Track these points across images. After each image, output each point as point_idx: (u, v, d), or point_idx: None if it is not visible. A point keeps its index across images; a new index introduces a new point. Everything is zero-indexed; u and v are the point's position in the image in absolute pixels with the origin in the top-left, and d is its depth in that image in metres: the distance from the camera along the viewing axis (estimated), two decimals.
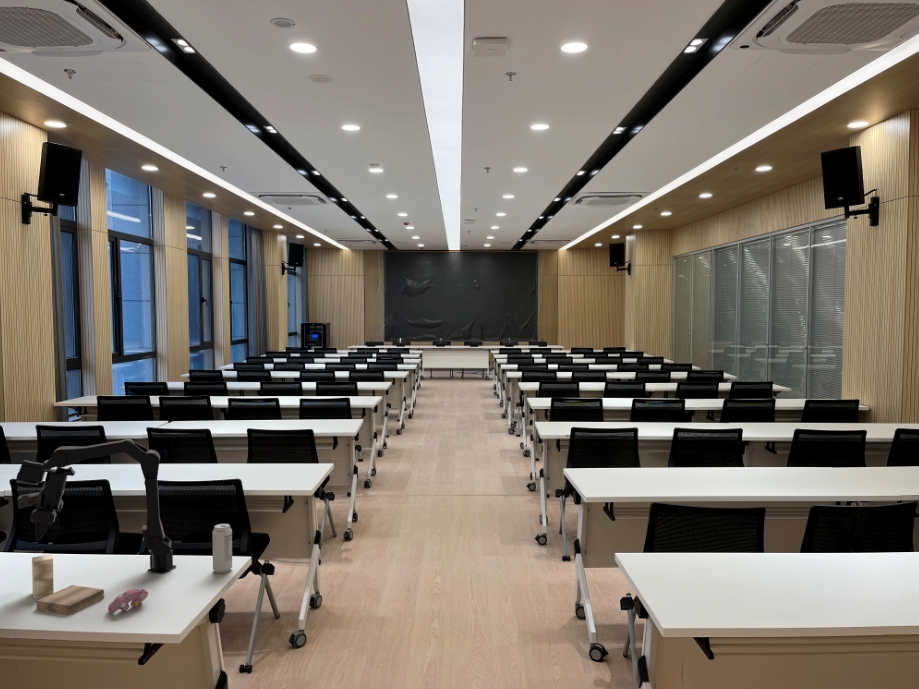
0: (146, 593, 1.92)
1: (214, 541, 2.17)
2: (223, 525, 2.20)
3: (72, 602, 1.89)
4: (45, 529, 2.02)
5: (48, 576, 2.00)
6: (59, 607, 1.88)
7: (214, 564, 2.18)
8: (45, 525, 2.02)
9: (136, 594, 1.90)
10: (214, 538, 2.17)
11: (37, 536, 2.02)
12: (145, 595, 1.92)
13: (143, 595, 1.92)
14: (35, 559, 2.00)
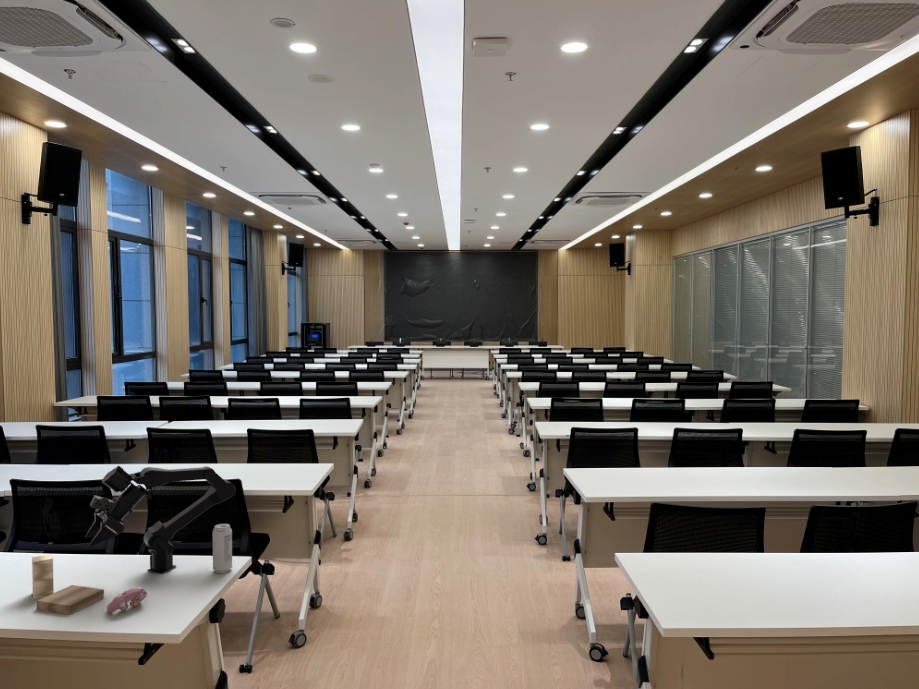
0: (145, 593, 1.93)
1: (214, 541, 2.17)
2: (223, 525, 2.20)
3: (72, 602, 1.89)
4: (105, 538, 2.05)
5: (48, 576, 2.00)
6: (59, 607, 1.88)
7: (214, 564, 2.18)
8: (108, 534, 2.06)
9: (135, 594, 1.90)
10: (214, 538, 2.17)
11: (94, 541, 2.04)
12: (144, 595, 1.92)
13: (142, 595, 1.92)
14: (35, 559, 2.00)
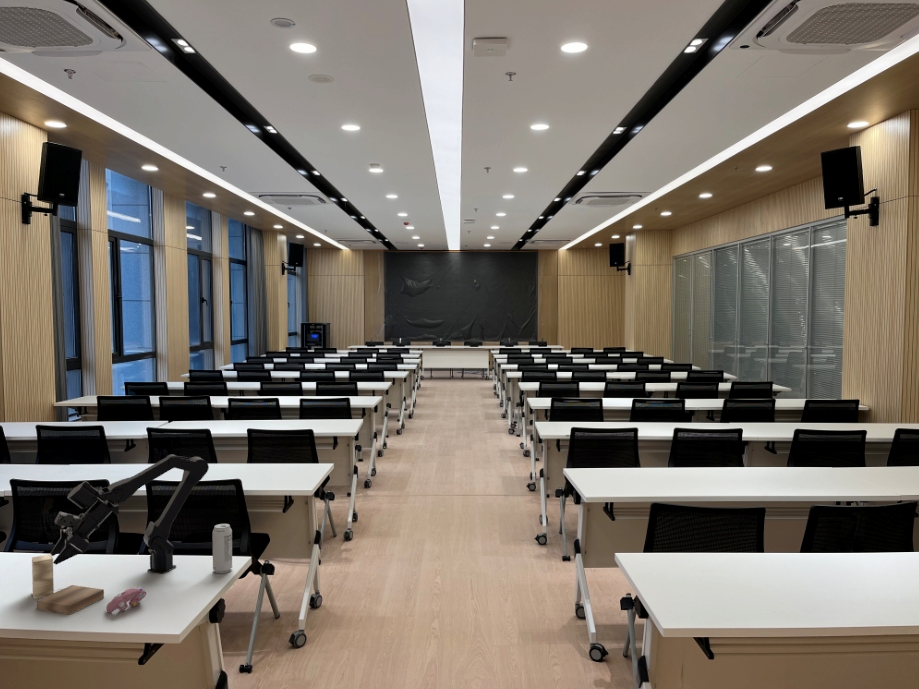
0: (144, 593, 1.93)
1: (214, 541, 2.17)
2: (223, 525, 2.20)
3: (72, 602, 1.89)
4: (70, 556, 2.00)
5: (48, 576, 2.00)
6: (59, 607, 1.88)
7: (214, 564, 2.18)
8: (72, 552, 2.00)
9: (134, 594, 1.90)
10: (214, 538, 2.17)
11: (58, 559, 1.99)
12: (143, 595, 1.93)
13: (141, 595, 1.92)
14: (35, 559, 2.00)
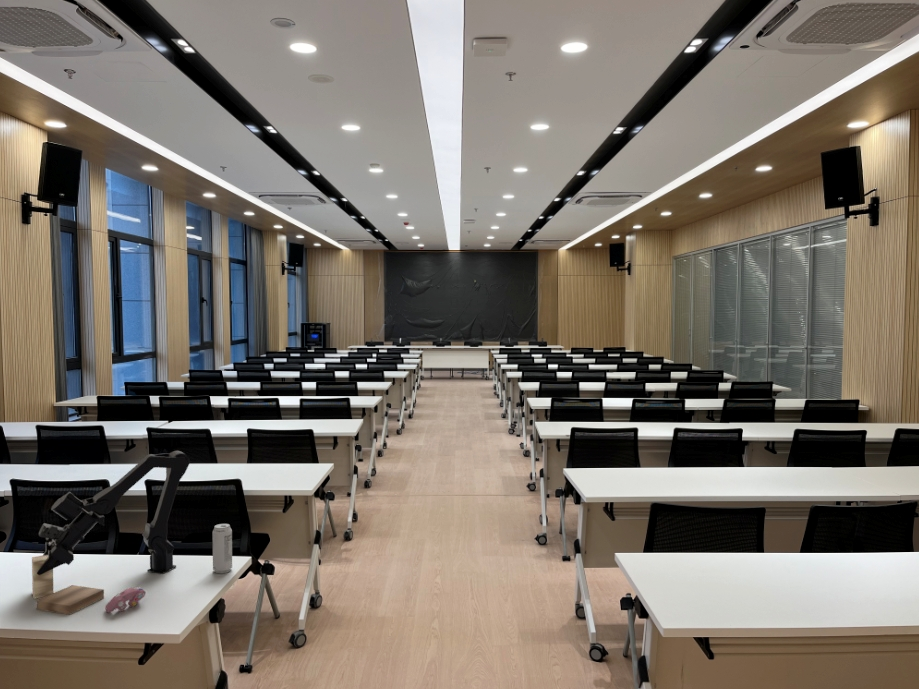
0: (143, 592, 1.93)
1: (214, 541, 2.17)
2: (223, 525, 2.20)
3: (72, 602, 1.89)
4: (53, 566, 1.99)
5: (48, 576, 2.00)
6: (59, 607, 1.88)
7: (214, 564, 2.18)
8: (56, 562, 1.99)
9: (133, 593, 1.90)
10: (214, 538, 2.17)
11: (41, 570, 1.98)
12: (142, 594, 1.93)
13: (140, 594, 1.92)
14: (35, 559, 1.99)
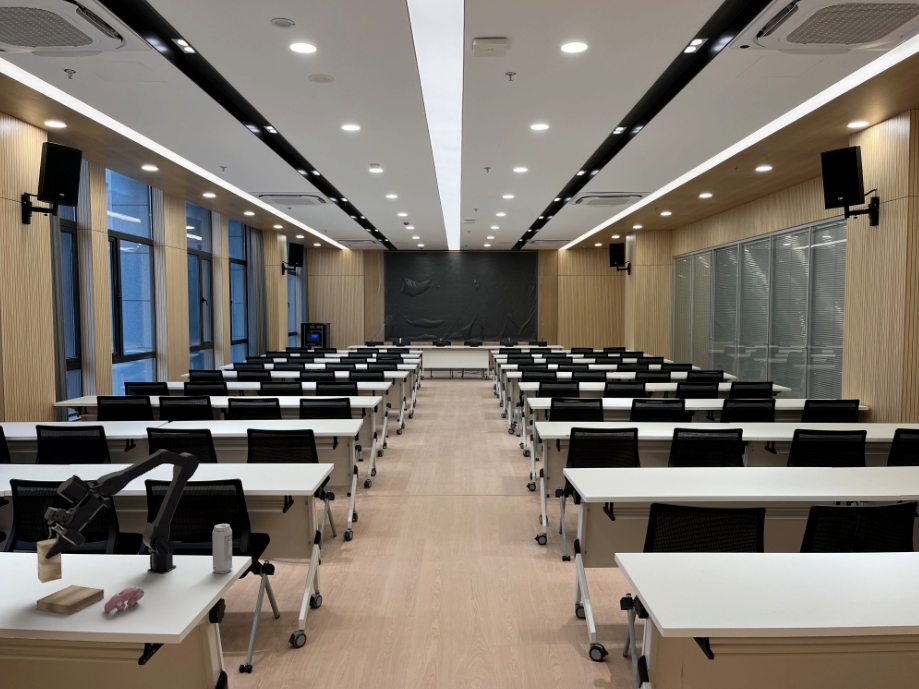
0: (142, 592, 1.93)
1: (214, 541, 2.17)
2: (223, 525, 2.20)
3: (72, 602, 1.89)
4: (62, 549, 1.97)
5: (56, 559, 1.97)
6: (59, 607, 1.88)
7: (214, 564, 2.18)
8: (65, 545, 1.97)
9: (132, 593, 1.90)
10: (214, 538, 2.17)
11: (50, 554, 1.95)
12: (141, 594, 1.93)
13: (139, 594, 1.92)
14: (42, 543, 1.96)
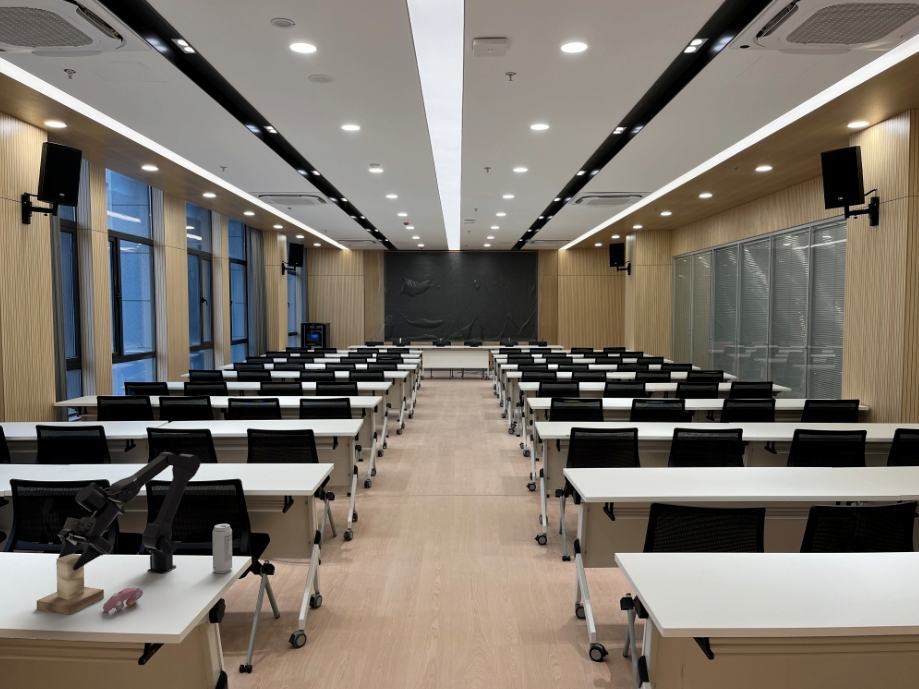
0: (141, 592, 1.93)
1: (214, 541, 2.17)
2: (223, 525, 2.20)
3: (72, 602, 1.89)
4: (89, 559, 1.93)
5: (80, 574, 1.94)
6: (59, 607, 1.88)
7: (214, 564, 2.18)
8: (92, 555, 1.94)
9: (131, 593, 1.91)
10: (214, 538, 2.17)
11: (78, 565, 1.91)
12: (140, 594, 1.93)
13: (138, 594, 1.92)
14: (64, 559, 1.92)
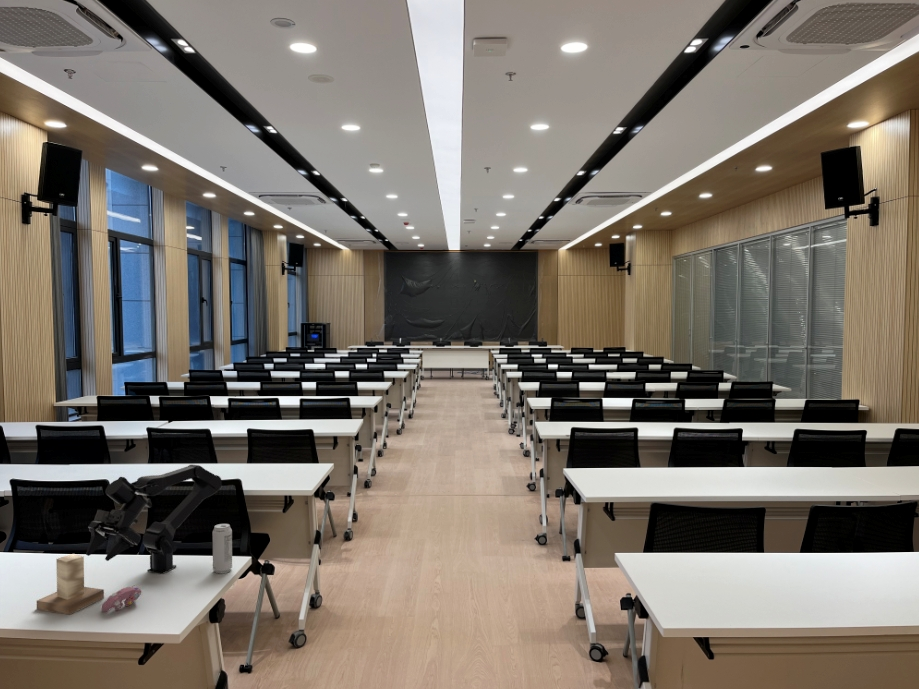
0: (139, 591, 1.93)
1: (214, 541, 2.17)
2: (223, 525, 2.20)
3: (72, 602, 1.89)
4: (121, 550, 2.01)
5: (80, 574, 1.94)
6: (59, 607, 1.88)
7: (214, 564, 2.18)
8: (123, 546, 2.02)
9: (130, 592, 1.91)
10: (214, 538, 2.17)
11: (110, 555, 1.99)
12: (138, 593, 1.93)
13: (137, 593, 1.93)
14: (64, 559, 1.92)
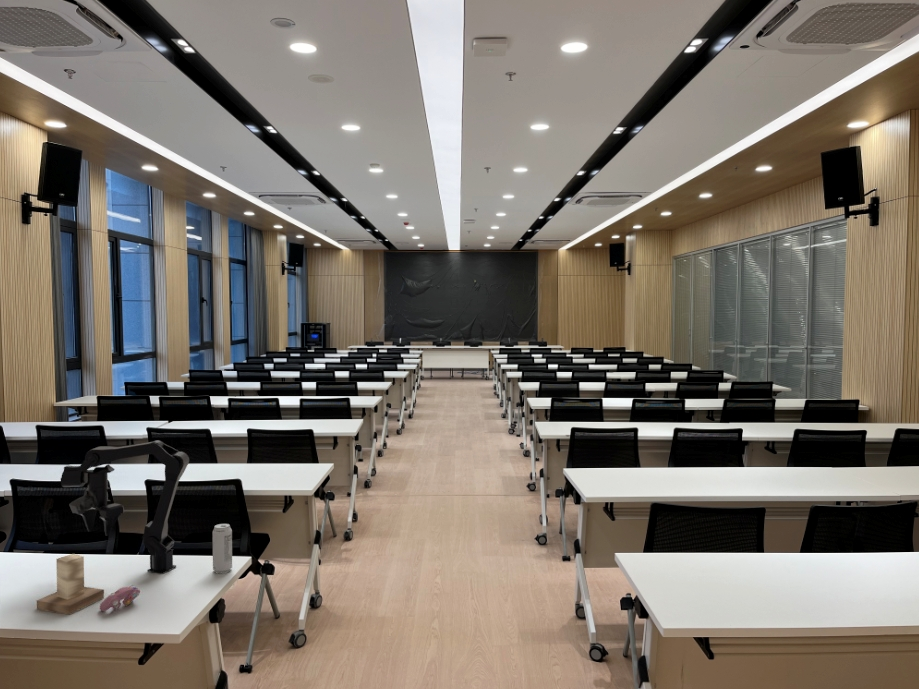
0: (138, 591, 1.94)
1: (214, 541, 2.17)
2: (223, 525, 2.20)
3: (72, 602, 1.89)
4: (113, 522, 2.17)
5: (80, 574, 1.94)
6: (59, 607, 1.88)
7: (214, 564, 2.18)
8: (113, 518, 2.16)
9: (128, 592, 1.91)
10: (214, 538, 2.17)
11: (107, 531, 2.16)
12: (137, 593, 1.94)
13: (135, 593, 1.93)
14: (64, 559, 1.92)
